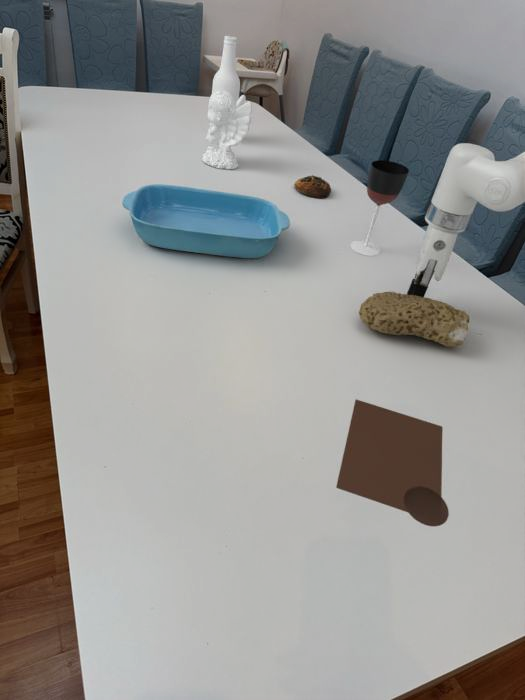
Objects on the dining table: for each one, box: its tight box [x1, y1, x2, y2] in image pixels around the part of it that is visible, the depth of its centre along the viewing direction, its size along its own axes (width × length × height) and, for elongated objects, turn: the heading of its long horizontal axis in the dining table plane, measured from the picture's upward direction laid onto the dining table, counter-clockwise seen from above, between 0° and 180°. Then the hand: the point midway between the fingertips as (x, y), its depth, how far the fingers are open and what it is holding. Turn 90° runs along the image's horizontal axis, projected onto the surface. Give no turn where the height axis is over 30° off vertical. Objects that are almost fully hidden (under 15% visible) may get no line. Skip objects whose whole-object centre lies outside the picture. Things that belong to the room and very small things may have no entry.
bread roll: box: [293, 174, 332, 199], centre depth 144 cm, size 11×11×5 cm
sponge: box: [358, 291, 470, 348], centre depth 95 cm, size 13×8×20 cm
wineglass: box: [349, 159, 410, 257], centre depth 116 cm, size 8×9×20 cm
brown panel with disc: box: [335, 398, 449, 527], centre depth 72 cm, size 19×15×1 cm
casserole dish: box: [122, 183, 291, 259], centre depth 112 cm, size 37×22×7 cm, turn 93°
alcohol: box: [208, 35, 241, 129], centre depth 160 cm, size 9×9×30 cm
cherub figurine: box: [201, 91, 253, 170], centre depth 147 cm, size 13×12×20 cm
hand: (414, 298), depth 103 cm, fingers closed
